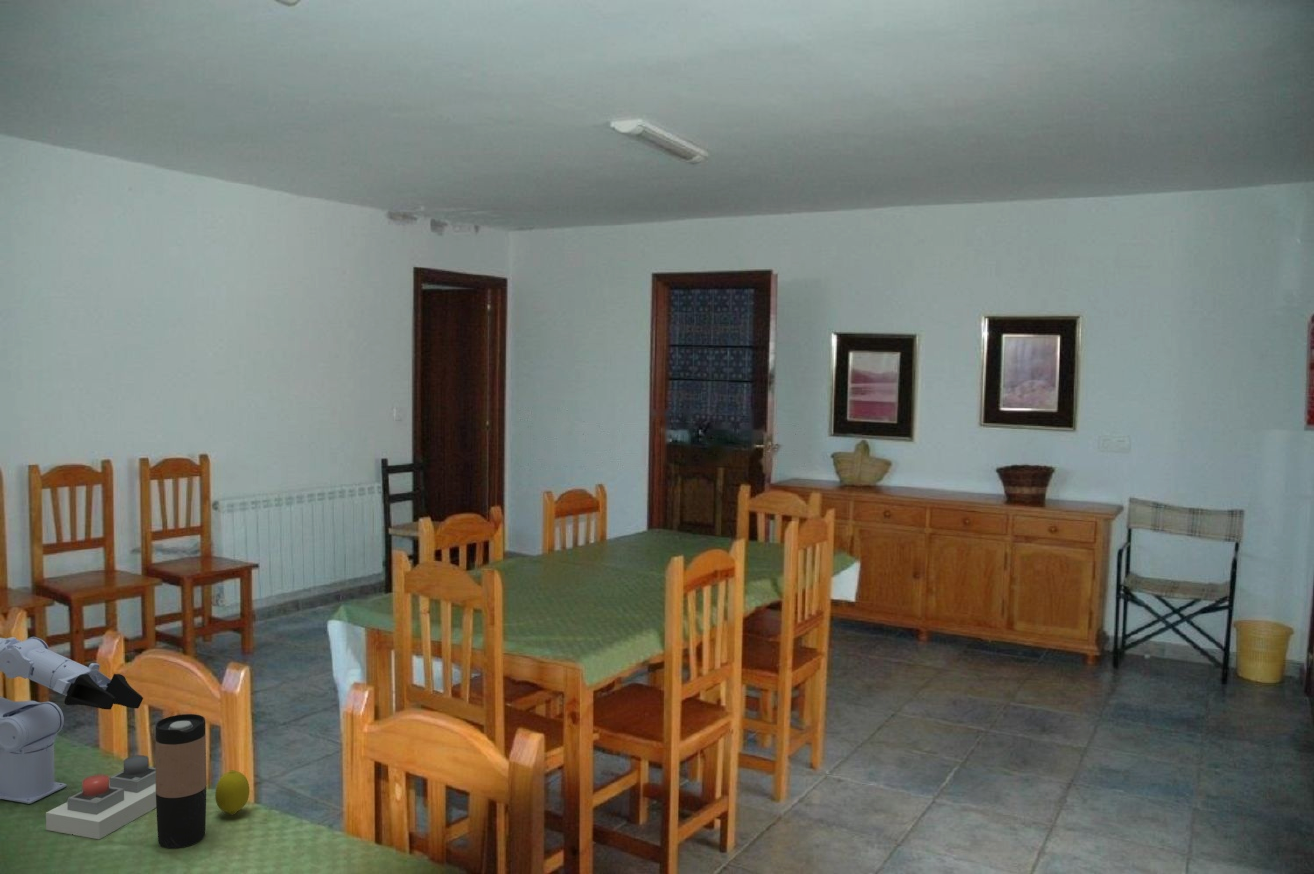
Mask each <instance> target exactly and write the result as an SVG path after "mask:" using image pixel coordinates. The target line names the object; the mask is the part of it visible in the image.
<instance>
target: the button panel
mask: <svg viewBox="0 0 1314 874" xmlns="http://www.w3.org/2000/svg"><path fill="white" fill-rule="evenodd" d="M155 809H156V767H153V766H152V767H151V766H149V769H148V771H146V772H144V773H141V774H137V775H126V774H124V770H122V771H119V772H118V773H116V774H113V775H112V776H109V790H108V791H107V792H105V793H103V794H99V795H94V796H87V795H84V794H83V790H81V791H79V792H78V793H76V794H73V795H71V796H69V797H67V801H66V802H65V803H62V804H60V805H58V806H57V807H54V808H52V809H50V810H49V811H46V812H45V830H46V831H52V832H56V833H61V834H67V835H72V834H73V836H77V837H83V838H89V839H90V838H91V839H94V840H101V839H103V838H104V837H106V836H109V835H110V834H111V833H113V832H115V831H117V830H119V829H120V828H122V827H124V826H125V825H127V824H130V823H131V822H133V821H134V820H137V819H138V818H140V817H142V816H143V815H145V814H147V813H149V812H151V811H152V810H155Z"/></svg>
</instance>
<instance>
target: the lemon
mask: <svg viewBox="0 0 1314 874" xmlns="http://www.w3.org/2000/svg"><path fill="white" fill-rule="evenodd" d="M216 783H217V784H216V787H215V795H214V796H215V798H214V799H215V803H216V806H217V807H218V808H219V809H220V810H221V811H223V812H224V813H228V814H230V815H235V814H236V813H237V812H238V811H241V809H243V808H244V807H245V806H246V805H247V803H248V802H249V801H248V800H249V797H250V784H249V782H248V778H247V777H246V775H245V774H243V772H239V771H236V770H234V769H231V770H229V772H226V773H224V774H223V775H222V776H221V777H220V778H219V780H218V781H217V782H216Z"/></svg>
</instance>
